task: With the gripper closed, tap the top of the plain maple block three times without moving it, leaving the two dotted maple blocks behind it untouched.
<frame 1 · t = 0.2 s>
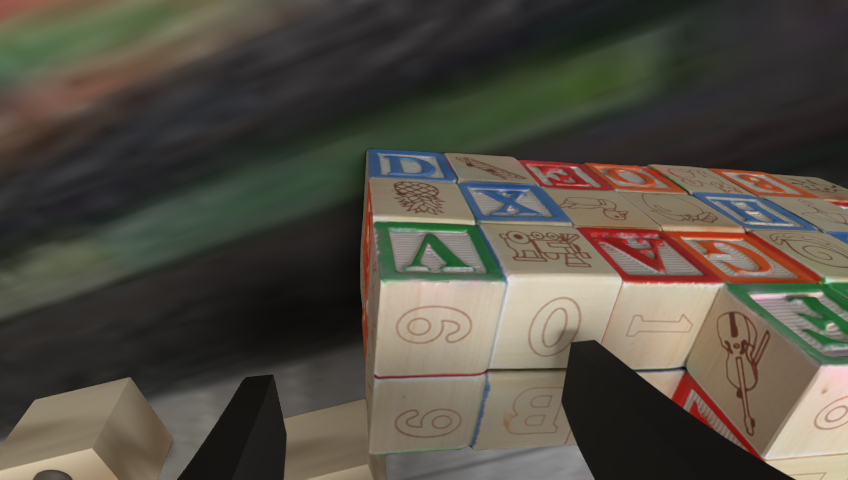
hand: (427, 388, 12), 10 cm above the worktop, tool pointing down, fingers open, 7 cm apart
plain maple block: (335, 434, 26), on the worktop
two-dot maple block: (108, 418, 24), on the worktop
stack of blocks: (592, 223, 22), on the worktop
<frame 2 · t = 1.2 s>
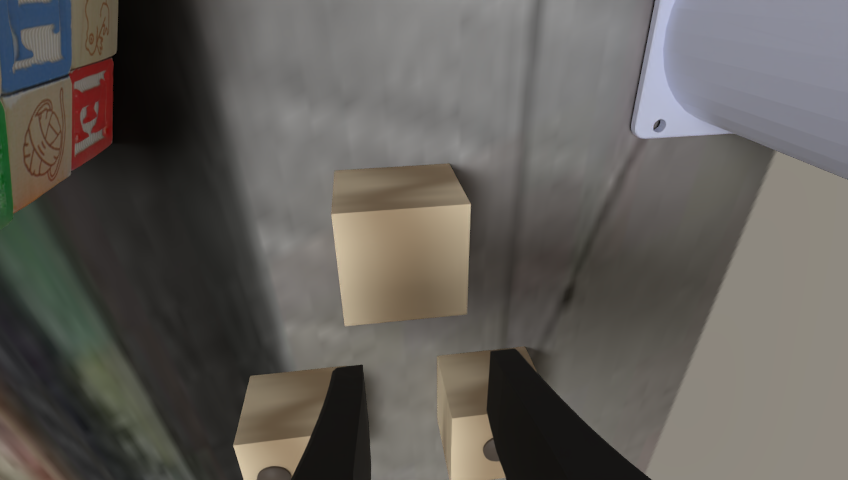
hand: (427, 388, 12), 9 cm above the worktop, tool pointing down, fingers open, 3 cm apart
one-dot maple block: (479, 382, 25), on the worktop
plain maple block: (394, 217, 20), on the worktop
two-dot maple block: (305, 402, 24), on the worktop
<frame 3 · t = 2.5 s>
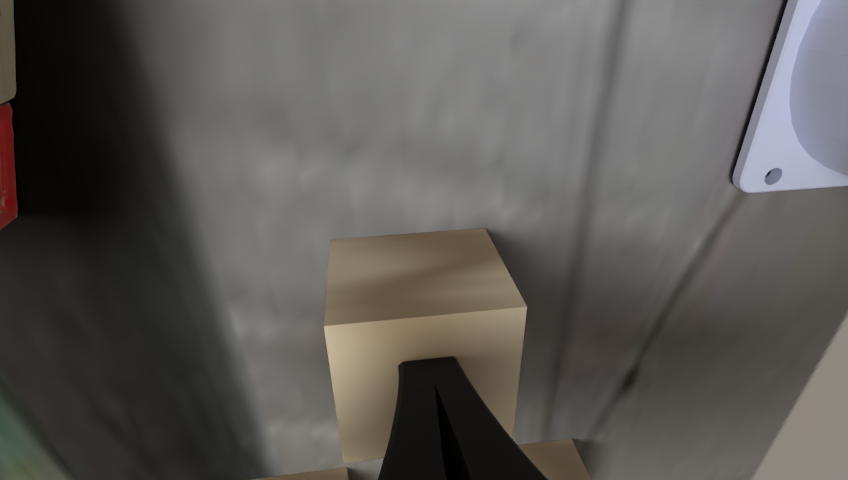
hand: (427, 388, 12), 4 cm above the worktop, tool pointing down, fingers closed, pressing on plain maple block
one-dot maple block: (512, 478, 20), on the worktop
plain maple block: (410, 295, 15), on the worktop, touching gripper
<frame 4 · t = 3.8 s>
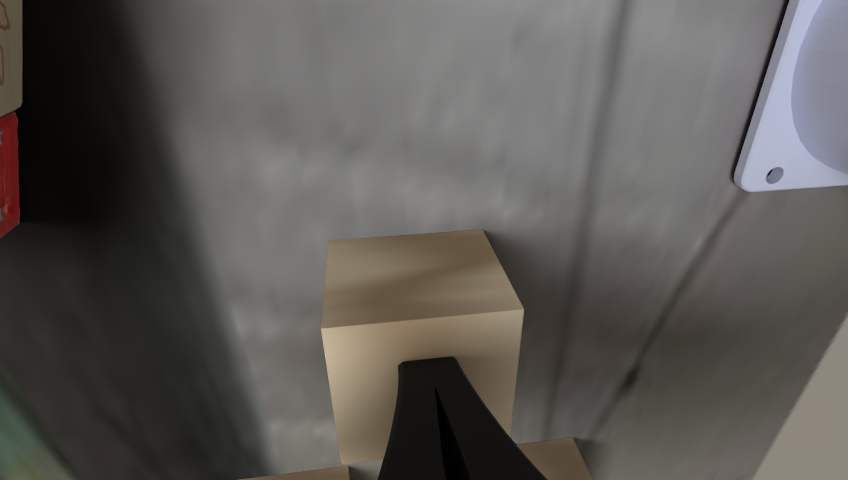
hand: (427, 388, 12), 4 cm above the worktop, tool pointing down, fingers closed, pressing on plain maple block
one-dot maple block: (513, 477, 20), on the worktop
plain maple block: (408, 296, 15), on the worktop, touching gripper
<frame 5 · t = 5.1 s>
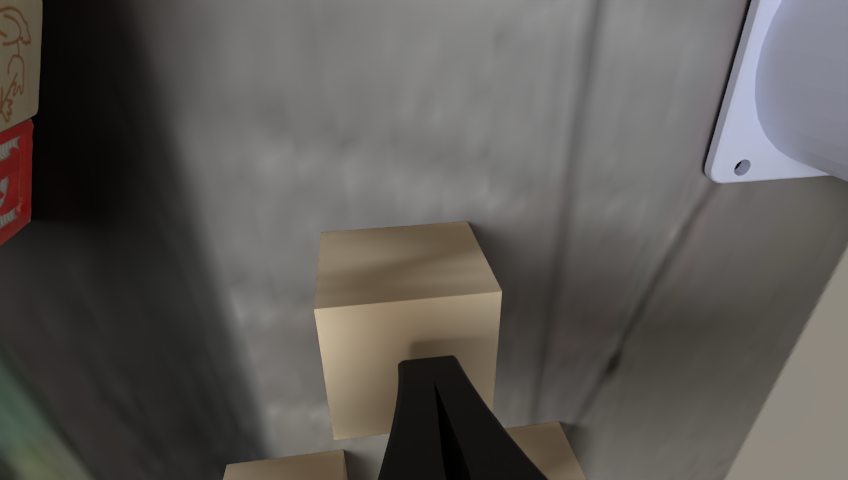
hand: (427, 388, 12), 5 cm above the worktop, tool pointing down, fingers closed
one-dot maple block: (502, 461, 21), on the worktop
plain maple block: (398, 285, 16), on the worktop
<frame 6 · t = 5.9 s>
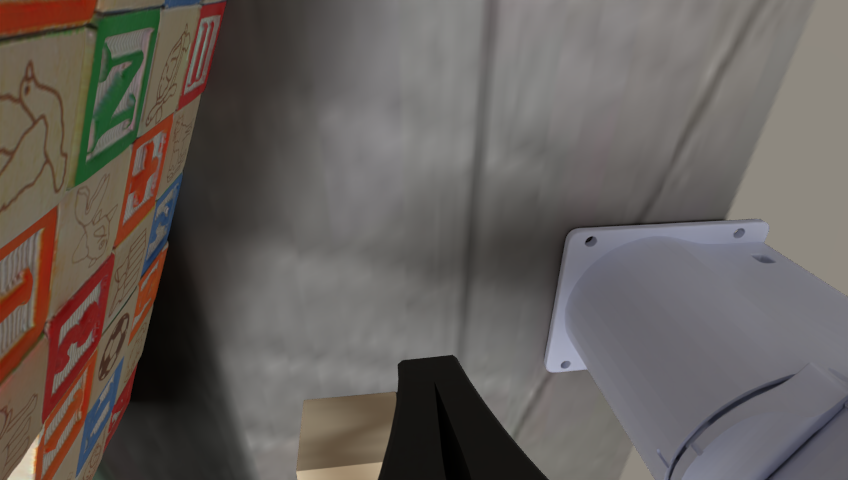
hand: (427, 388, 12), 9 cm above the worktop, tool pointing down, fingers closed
plain maple block: (352, 425, 25), on the worktop
stack of blocks: (91, 176, 17), on the worktop
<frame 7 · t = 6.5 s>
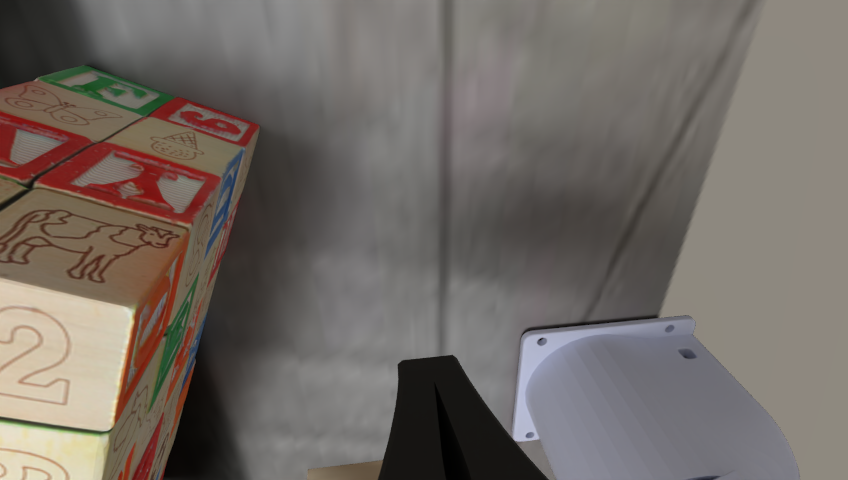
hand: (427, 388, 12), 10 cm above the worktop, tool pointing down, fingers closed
stack of blocks: (135, 314, 22), on the worktop
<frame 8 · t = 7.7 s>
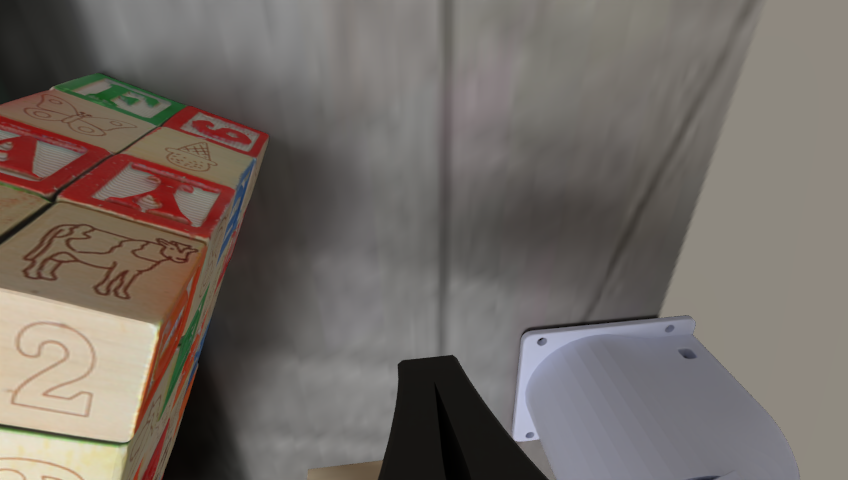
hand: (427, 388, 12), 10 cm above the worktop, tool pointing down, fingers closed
stack of blocks: (140, 317, 22), on the worktop
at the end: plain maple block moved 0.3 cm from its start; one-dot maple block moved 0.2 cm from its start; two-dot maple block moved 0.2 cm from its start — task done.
